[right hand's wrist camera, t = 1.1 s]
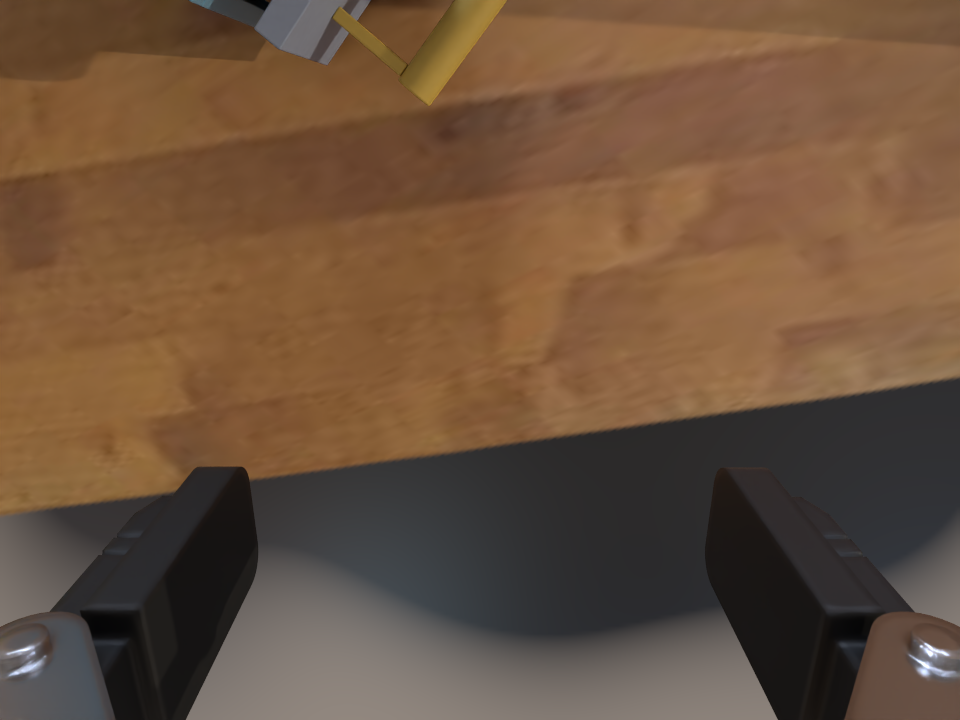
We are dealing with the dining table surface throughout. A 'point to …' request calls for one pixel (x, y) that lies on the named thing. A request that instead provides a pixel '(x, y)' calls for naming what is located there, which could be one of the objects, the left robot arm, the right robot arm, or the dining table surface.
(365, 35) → the drawer
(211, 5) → the cabinet
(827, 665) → the right robot arm
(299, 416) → the dining table surface
